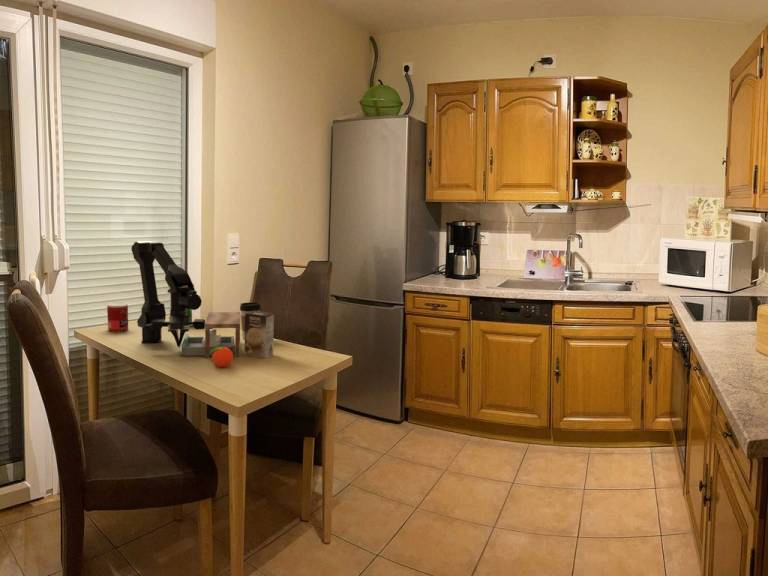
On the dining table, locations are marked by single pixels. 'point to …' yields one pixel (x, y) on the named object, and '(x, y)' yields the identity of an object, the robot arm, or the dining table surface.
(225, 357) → the clementine
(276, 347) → the dining table surface
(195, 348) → the drawer
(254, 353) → the coffee box
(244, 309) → the black lidded jar
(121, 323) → the canned food
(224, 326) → the wooden stand
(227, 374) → the dining table surface
